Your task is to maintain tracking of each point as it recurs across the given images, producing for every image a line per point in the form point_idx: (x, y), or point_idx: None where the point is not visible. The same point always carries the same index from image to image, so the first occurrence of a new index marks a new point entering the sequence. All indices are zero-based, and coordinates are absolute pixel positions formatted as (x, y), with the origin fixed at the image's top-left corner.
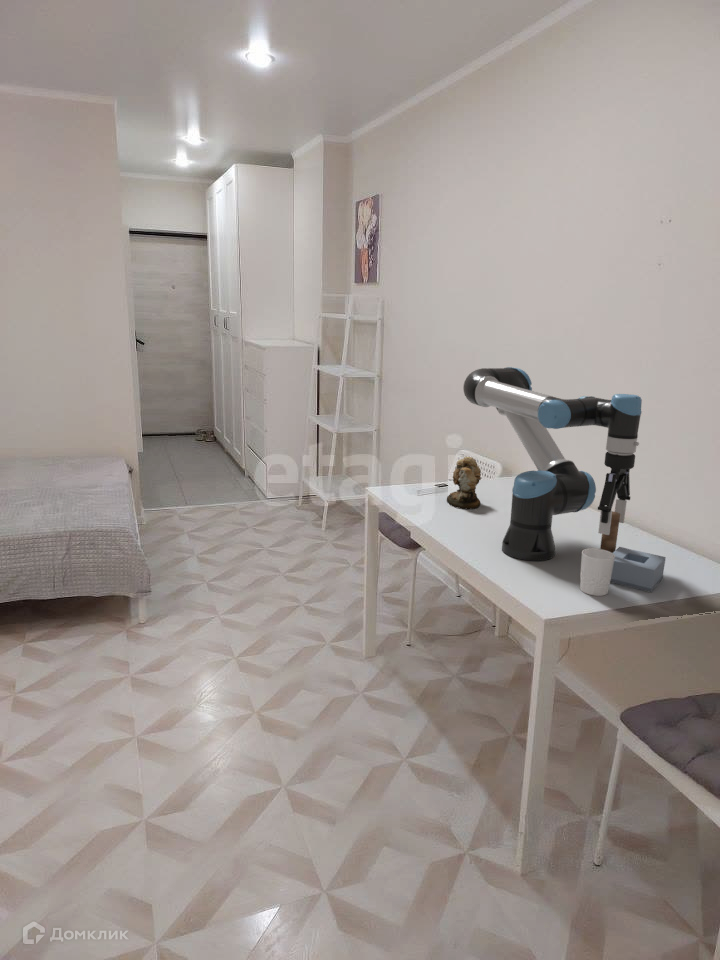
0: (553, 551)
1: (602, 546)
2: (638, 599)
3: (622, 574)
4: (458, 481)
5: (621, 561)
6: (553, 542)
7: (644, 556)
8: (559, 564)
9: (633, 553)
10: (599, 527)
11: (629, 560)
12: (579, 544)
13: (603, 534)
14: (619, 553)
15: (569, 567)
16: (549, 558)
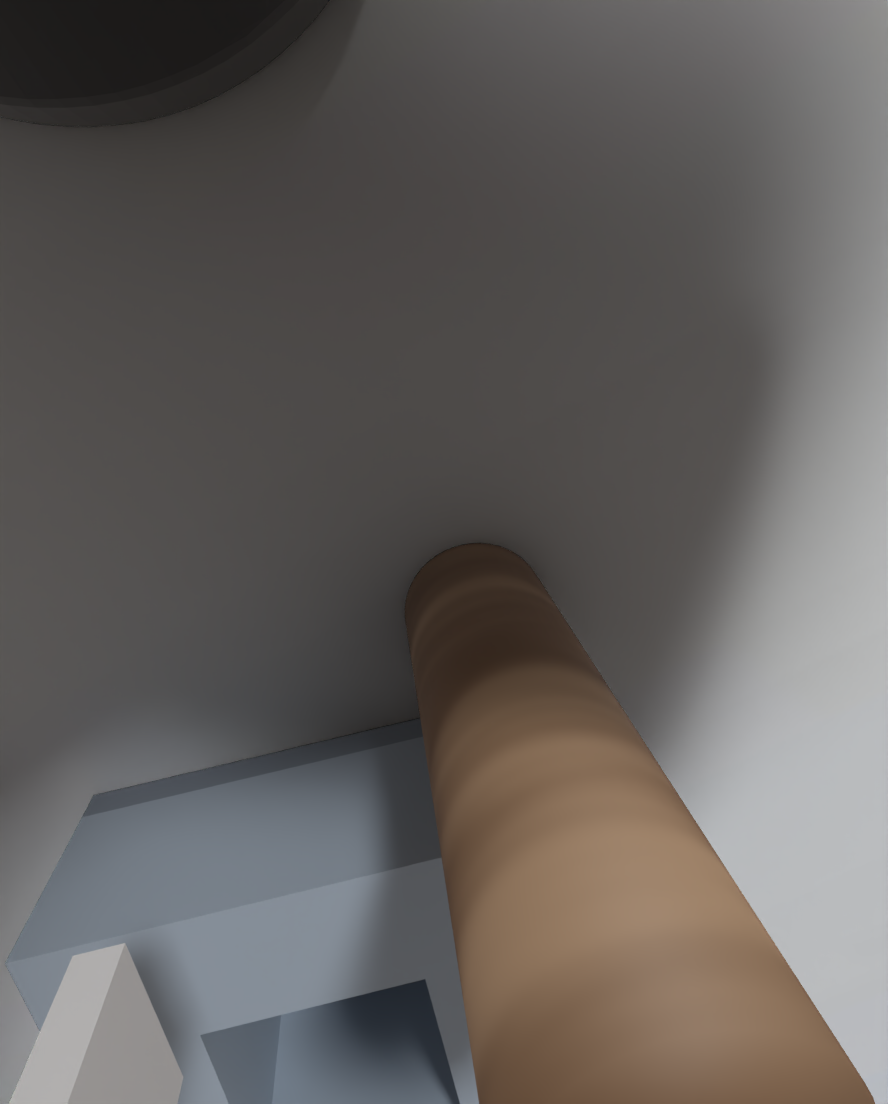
0: (116, 102)
1: (424, 684)
2: None
3: None
4: None
5: None
6: (141, 9)
7: (458, 1098)
8: (43, 306)
9: (448, 1013)
10: (31, 1067)
11: (208, 1093)
12: (852, 76)
13: (451, 768)
14: (314, 946)
15: (72, 431)
16: (48, 123)
